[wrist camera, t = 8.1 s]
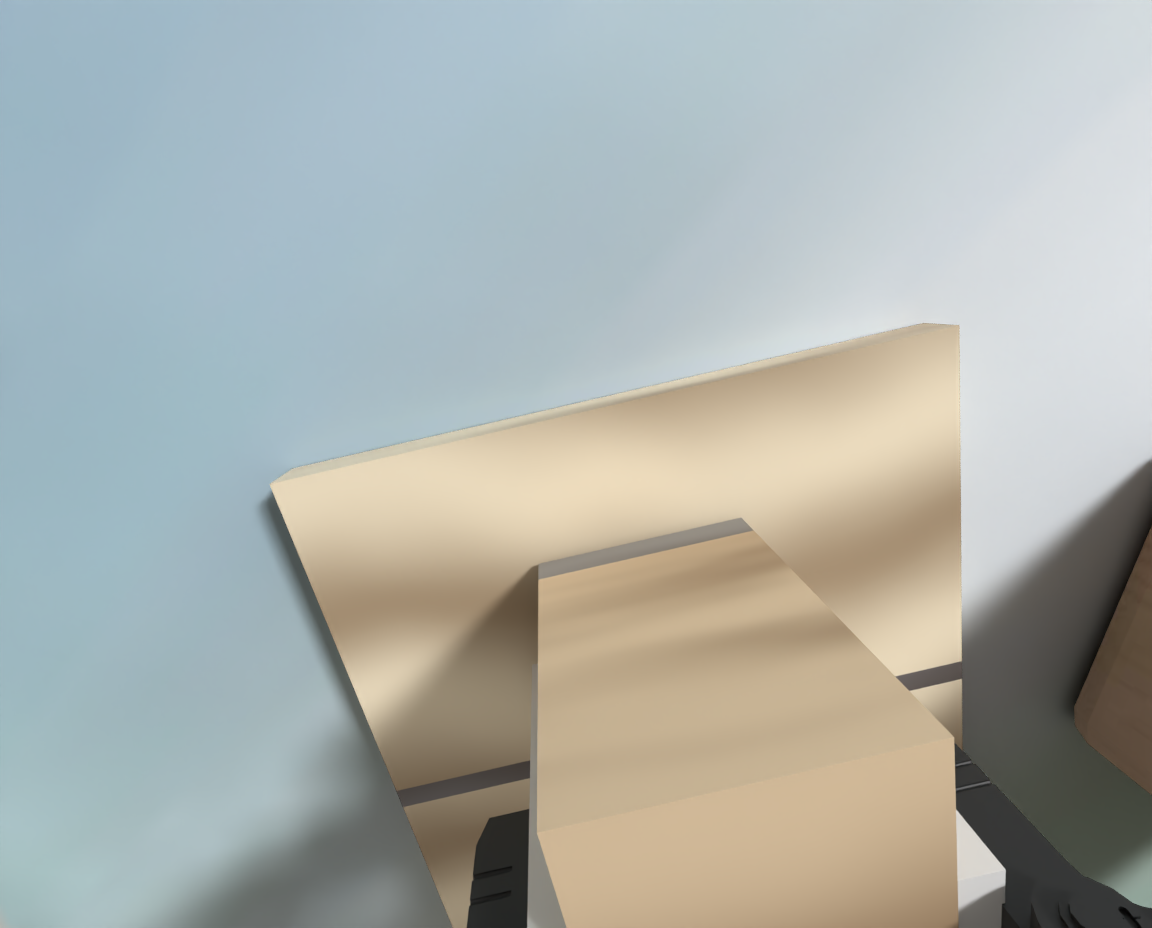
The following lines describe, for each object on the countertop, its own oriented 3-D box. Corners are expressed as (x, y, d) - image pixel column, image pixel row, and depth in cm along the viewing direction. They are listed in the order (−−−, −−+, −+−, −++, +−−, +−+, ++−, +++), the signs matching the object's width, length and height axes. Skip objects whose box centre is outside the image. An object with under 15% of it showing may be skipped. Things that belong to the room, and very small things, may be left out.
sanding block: (538, 563, 13) (536, 832, 6) (741, 517, 13) (954, 737, 6) (604, 815, 15) (655, 1210, 9) (777, 775, 15) (963, 1139, 9)
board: (292, 468, 13) (269, 483, 12) (923, 323, 13) (959, 325, 12) (533, 1075, 21) (532, 1120, 20) (941, 982, 21) (964, 1021, 20)
